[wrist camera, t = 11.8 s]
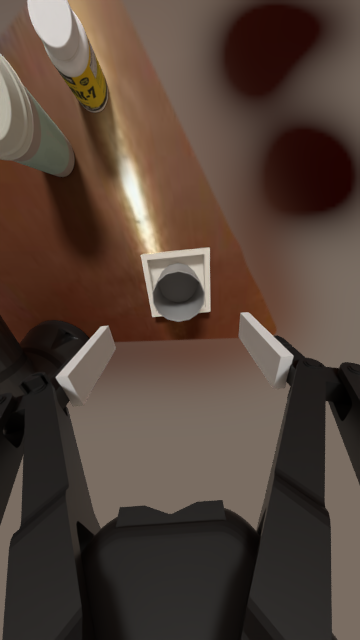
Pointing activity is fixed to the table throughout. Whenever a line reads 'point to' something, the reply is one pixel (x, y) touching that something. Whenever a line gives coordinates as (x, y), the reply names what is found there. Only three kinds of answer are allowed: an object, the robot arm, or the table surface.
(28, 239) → the table surface
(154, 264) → the tray
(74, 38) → the supplement bottle
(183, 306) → the cup
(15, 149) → the coffee cup
